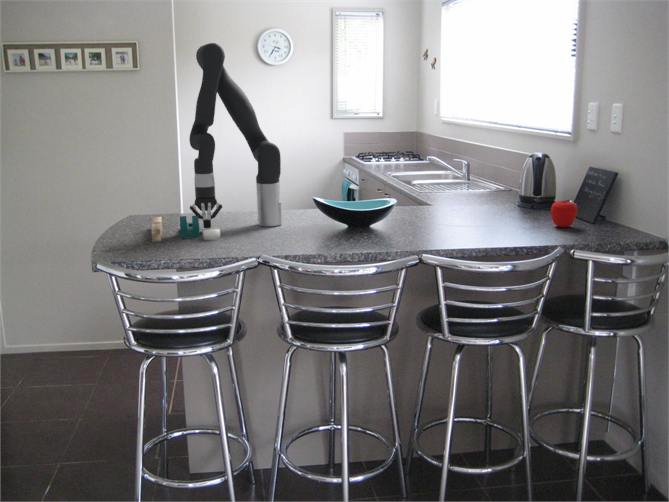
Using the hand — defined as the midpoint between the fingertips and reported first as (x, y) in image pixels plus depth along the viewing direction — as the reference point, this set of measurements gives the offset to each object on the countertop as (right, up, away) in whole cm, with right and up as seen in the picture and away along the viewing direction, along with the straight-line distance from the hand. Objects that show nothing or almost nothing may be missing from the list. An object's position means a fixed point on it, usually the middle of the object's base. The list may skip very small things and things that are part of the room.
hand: (207, 228), depth 260 cm
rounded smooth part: (+4, -4, -11) cm, 12 cm away
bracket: (-6, -2, -1) cm, 7 cm away
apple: (+139, +1, 0) cm, 139 cm away
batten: (-18, -2, -4) cm, 19 cm away
